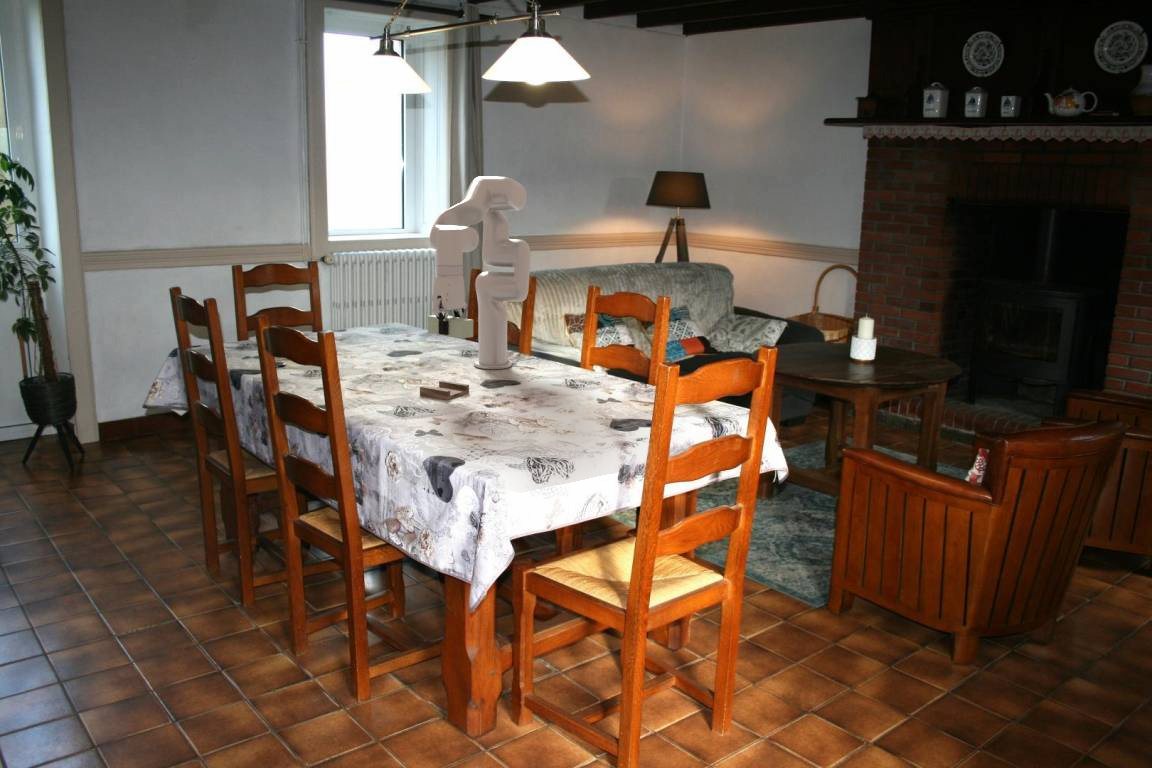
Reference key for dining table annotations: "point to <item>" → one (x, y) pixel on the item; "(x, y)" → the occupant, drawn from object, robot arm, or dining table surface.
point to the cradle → (445, 390)
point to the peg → (452, 326)
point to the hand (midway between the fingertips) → (450, 332)
